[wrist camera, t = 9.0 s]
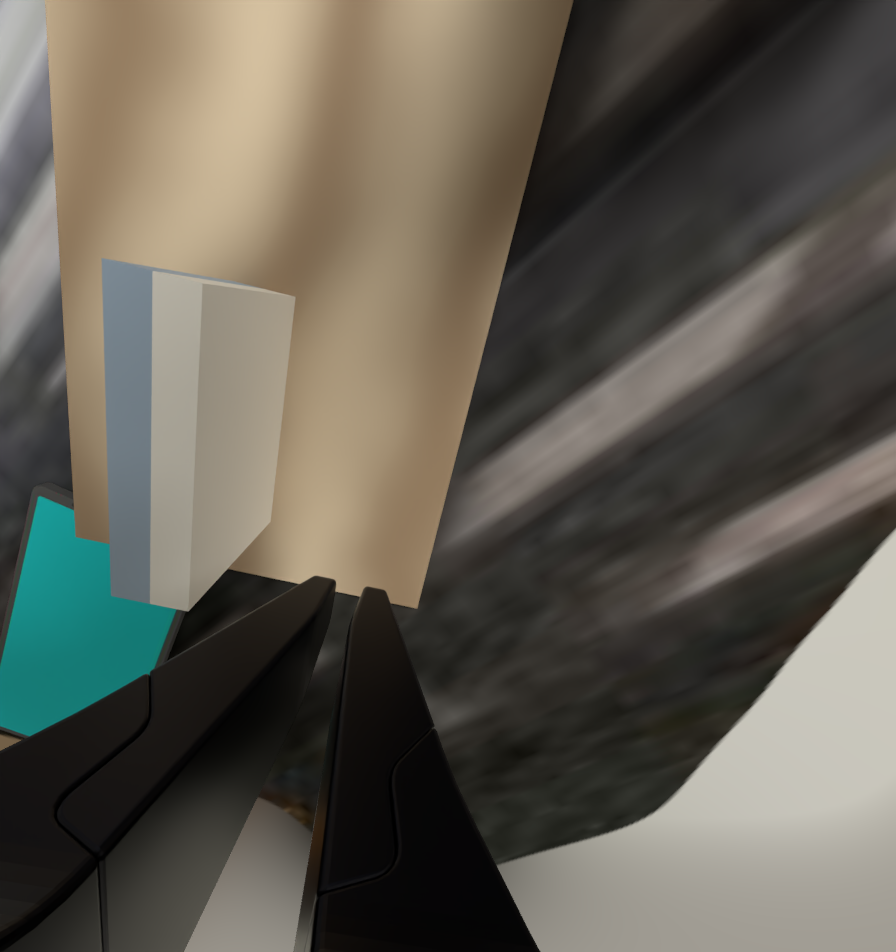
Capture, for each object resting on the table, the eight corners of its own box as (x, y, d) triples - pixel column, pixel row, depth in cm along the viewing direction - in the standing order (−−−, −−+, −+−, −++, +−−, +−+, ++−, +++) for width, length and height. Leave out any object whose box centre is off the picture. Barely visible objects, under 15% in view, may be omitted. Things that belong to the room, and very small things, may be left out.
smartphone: (203, 556, 19) (120, 772, 24) (213, 547, 20) (131, 757, 24) (31, 481, 18) (-22, 722, 22) (49, 474, 19) (-5, 709, 23)
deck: (295, 297, 15) (202, 283, 10) (270, 521, 18) (188, 611, 13) (233, 281, 15) (101, 258, 10) (217, 510, 18) (110, 596, 13)
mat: (575, -11, 13) (578, -21, 12) (417, 603, 20) (416, 608, 20) (47, -175, 12) (34, -191, 11) (83, 532, 19) (75, 537, 19)
